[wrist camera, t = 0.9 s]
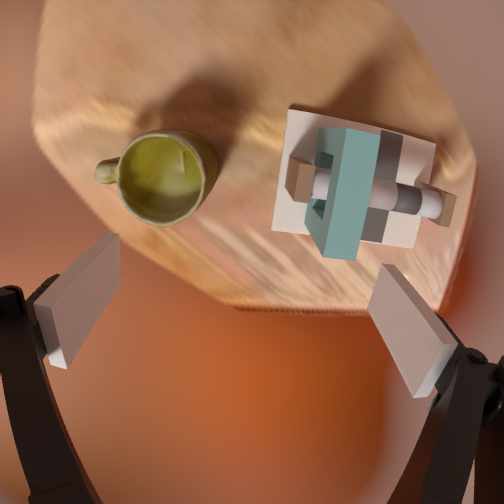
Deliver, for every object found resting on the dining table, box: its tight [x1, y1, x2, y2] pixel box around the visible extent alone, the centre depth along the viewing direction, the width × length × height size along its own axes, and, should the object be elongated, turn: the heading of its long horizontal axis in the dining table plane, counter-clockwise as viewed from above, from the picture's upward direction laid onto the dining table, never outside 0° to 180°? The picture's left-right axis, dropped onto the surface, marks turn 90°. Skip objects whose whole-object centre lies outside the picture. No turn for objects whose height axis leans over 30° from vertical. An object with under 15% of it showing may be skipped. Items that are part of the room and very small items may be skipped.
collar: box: [304, 127, 381, 261], centre depth 30 cm, size 3×11×10 cm, turn 173°
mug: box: [95, 130, 218, 227], centre depth 32 cm, size 12×10×10 cm
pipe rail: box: [271, 109, 457, 249], centre depth 32 cm, size 19×14×8 cm
